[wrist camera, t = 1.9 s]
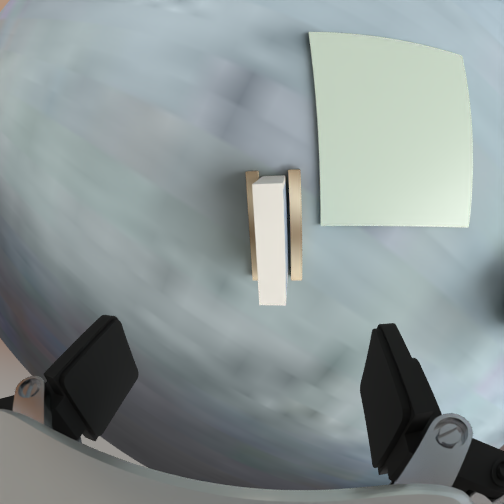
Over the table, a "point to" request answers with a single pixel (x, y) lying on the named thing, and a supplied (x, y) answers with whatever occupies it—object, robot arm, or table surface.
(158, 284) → the table surface
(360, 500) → the robot arm
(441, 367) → the table surface
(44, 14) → the table surface
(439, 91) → the mat
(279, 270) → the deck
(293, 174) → the holder
